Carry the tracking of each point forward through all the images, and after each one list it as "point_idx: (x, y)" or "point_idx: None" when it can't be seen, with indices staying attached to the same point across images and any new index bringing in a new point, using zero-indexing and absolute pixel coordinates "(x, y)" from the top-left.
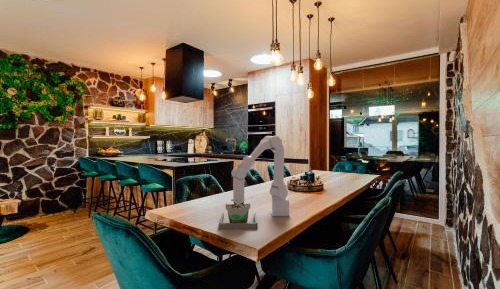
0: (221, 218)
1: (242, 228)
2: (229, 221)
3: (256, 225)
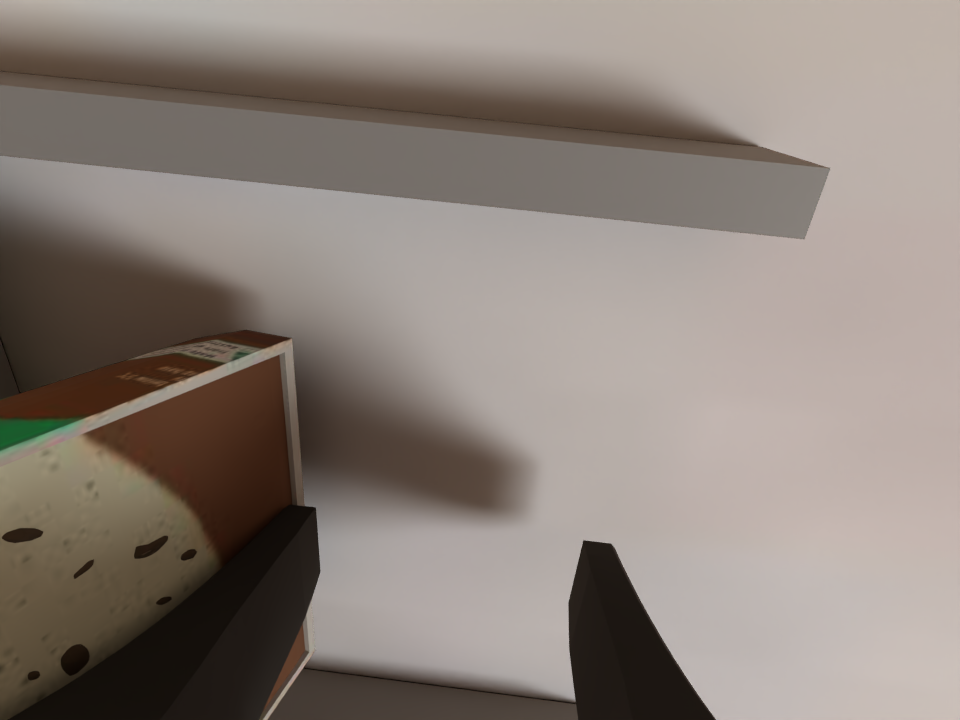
0: (187, 136)
1: None
2: (200, 340)
3: None
